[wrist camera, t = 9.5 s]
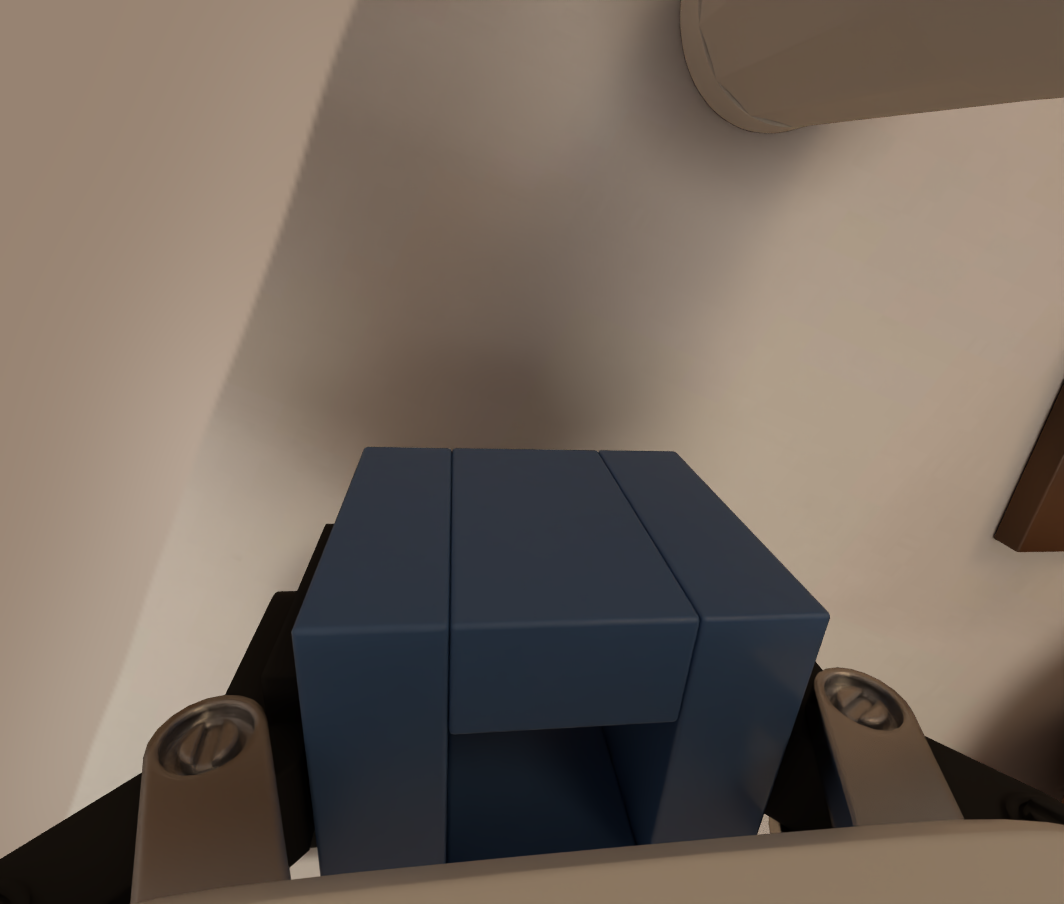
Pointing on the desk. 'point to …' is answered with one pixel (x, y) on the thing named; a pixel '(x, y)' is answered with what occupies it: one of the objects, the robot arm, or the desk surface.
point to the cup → (868, 57)
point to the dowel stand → (1039, 493)
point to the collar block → (542, 659)
